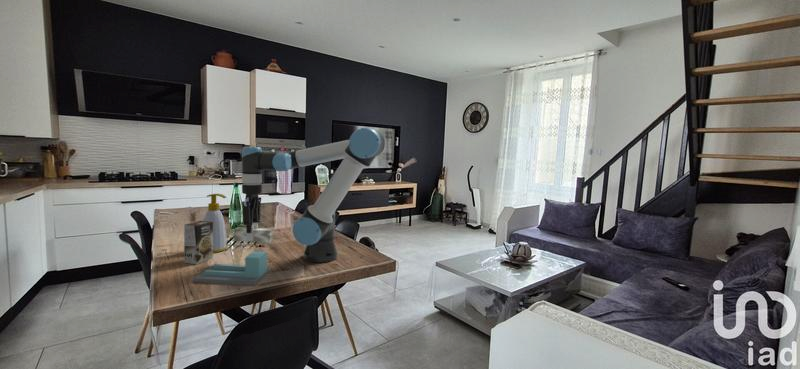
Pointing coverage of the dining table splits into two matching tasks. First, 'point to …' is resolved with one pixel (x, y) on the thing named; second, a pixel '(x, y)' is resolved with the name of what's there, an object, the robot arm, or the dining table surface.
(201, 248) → the coffee box
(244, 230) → the clear long block
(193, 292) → the dining table surface
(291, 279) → the dining table surface
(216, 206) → the soap bottle
